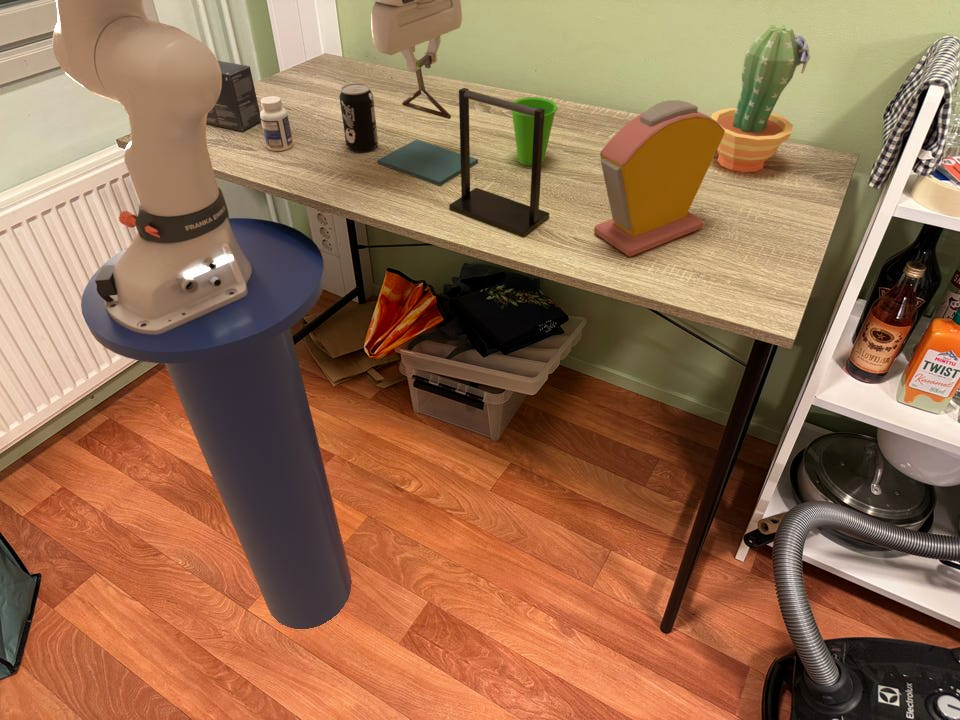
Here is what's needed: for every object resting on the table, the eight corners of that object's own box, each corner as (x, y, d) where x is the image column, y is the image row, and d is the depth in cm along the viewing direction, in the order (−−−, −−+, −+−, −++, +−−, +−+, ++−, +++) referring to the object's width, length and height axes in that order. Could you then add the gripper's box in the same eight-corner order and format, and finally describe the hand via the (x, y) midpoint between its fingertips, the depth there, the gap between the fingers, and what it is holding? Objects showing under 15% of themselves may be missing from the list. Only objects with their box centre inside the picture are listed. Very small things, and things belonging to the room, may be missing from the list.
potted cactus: (765, 187, 127) (807, 46, 110) (687, 165, 134) (716, 29, 117) (792, 158, 136) (835, 24, 119) (718, 138, 143) (749, 9, 126)
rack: (523, 237, 114) (528, 119, 101) (449, 209, 121) (444, 96, 108) (549, 218, 119) (557, 102, 105) (476, 192, 126) (475, 81, 113)
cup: (534, 175, 131) (537, 119, 124) (499, 161, 136) (500, 106, 128) (562, 160, 136) (567, 105, 129) (527, 147, 140) (530, 93, 133)
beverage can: (340, 148, 140) (331, 89, 133) (361, 137, 145) (354, 79, 137) (363, 156, 138) (356, 96, 130) (385, 144, 142) (378, 86, 134)
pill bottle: (285, 138, 144) (275, 92, 138) (298, 146, 141) (289, 99, 135) (262, 146, 142) (251, 99, 135) (275, 154, 139) (265, 106, 132)
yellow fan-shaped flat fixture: (675, 202, 123) (700, 81, 108) (714, 225, 117) (746, 99, 102) (580, 238, 114) (593, 110, 100) (616, 263, 108) (636, 132, 94)
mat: (440, 185, 128) (439, 182, 127) (377, 163, 135) (377, 159, 135) (478, 162, 135) (478, 159, 135) (416, 142, 142) (416, 139, 142)
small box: (263, 121, 151) (251, 65, 143) (243, 132, 147) (229, 75, 139) (217, 111, 156) (203, 56, 148) (196, 122, 151) (180, 66, 143)
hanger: (449, 120, 126) (441, 71, 118) (401, 106, 131) (391, 58, 124) (460, 111, 127) (452, 62, 120) (412, 97, 133) (402, 49, 125)
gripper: (441, -33, 121) (444, 48, 130) (361, -9, 109) (371, 79, 118) (469, -29, 118) (470, 54, 128) (390, -3, 106) (398, 87, 115)
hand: (422, 66), depth 123 cm, fingers closed on hanger, 3 cm apart
